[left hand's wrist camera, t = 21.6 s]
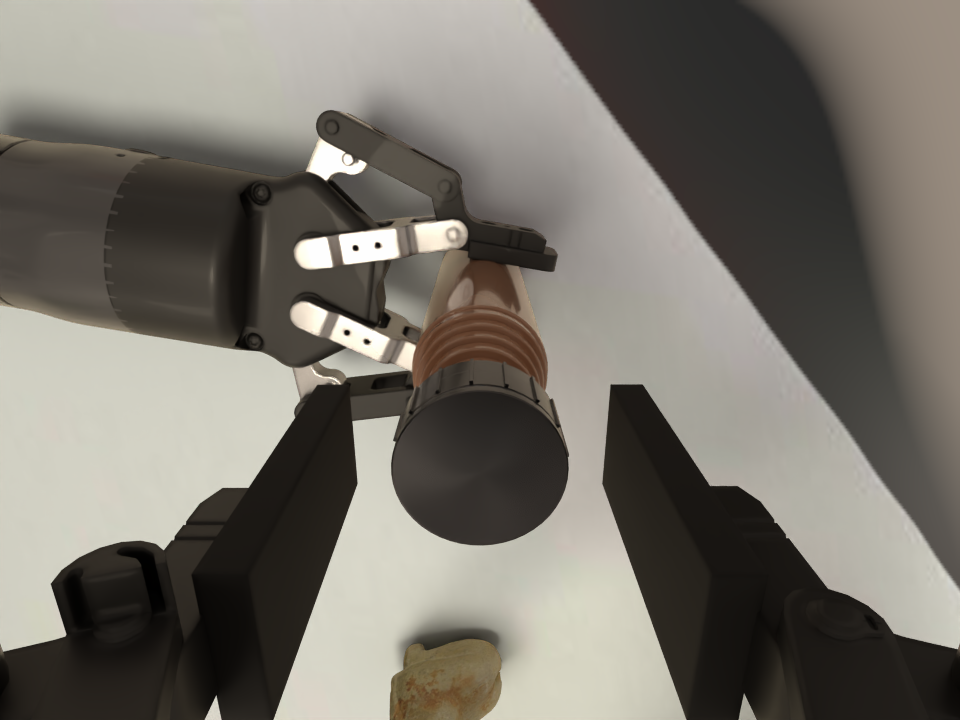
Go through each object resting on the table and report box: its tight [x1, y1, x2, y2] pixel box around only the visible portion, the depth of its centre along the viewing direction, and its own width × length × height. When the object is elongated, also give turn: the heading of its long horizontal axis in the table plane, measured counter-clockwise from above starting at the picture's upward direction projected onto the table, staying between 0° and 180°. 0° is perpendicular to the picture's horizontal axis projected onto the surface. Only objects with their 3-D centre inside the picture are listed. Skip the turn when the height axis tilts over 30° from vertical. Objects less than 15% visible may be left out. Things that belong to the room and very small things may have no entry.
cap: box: [391, 359, 569, 545], centre depth 14 cm, size 4×4×2 cm
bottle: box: [412, 249, 548, 391], centre depth 23 cm, size 4×4×20 cm
